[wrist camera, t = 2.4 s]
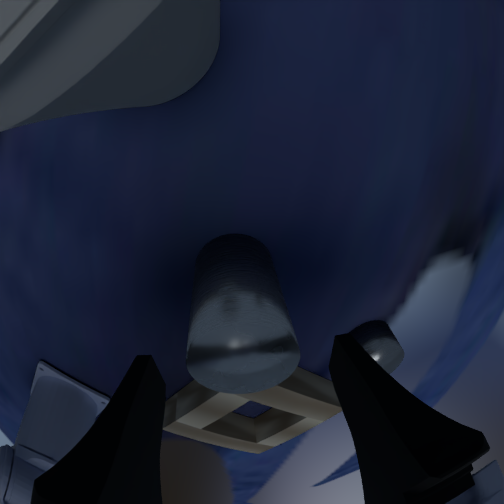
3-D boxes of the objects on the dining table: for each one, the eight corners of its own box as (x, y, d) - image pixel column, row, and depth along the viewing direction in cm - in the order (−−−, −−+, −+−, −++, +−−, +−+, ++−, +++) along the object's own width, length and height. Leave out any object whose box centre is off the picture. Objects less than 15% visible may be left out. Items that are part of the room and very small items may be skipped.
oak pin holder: (255, 431, 28) (258, 453, 25) (164, 402, 23) (161, 429, 21) (336, 383, 24) (345, 408, 22) (242, 339, 20) (246, 373, 17)
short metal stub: (358, 363, 23) (369, 388, 21) (329, 347, 21) (340, 376, 19) (396, 331, 22) (411, 356, 19) (373, 311, 20) (389, 338, 17)
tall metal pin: (238, 309, 18) (249, 403, 12) (180, 274, 17) (165, 369, 10) (288, 262, 17) (322, 353, 11) (228, 218, 15) (235, 303, 9)
